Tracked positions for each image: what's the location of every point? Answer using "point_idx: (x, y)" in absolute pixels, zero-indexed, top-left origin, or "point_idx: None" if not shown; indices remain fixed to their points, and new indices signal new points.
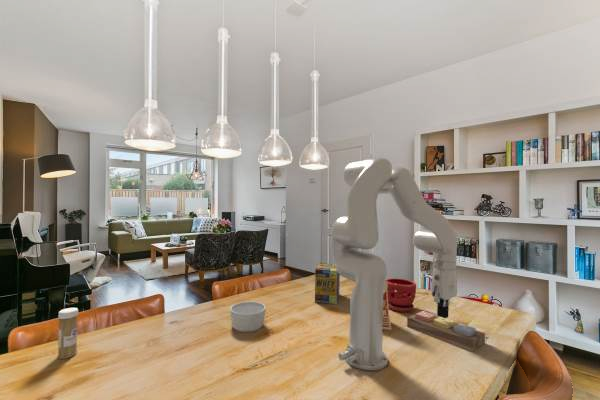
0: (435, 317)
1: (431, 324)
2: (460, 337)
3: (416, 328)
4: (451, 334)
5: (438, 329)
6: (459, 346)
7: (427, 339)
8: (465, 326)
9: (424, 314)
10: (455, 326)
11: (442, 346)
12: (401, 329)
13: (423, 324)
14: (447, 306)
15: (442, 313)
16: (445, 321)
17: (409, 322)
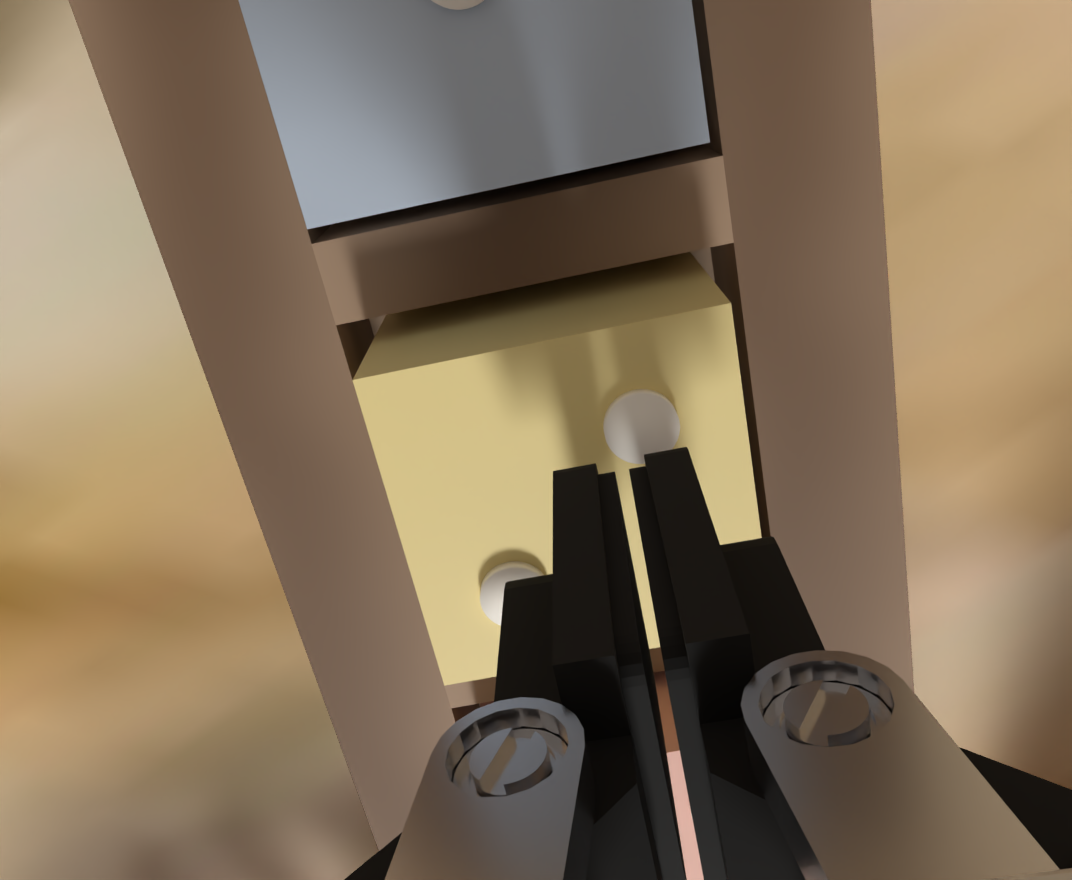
0: (402, 768)
1: (808, 574)
2: None
3: None
4: (870, 43)
5: (886, 360)
6: None
7: (1021, 367)
8: (356, 2)
9: (686, 873)
10: (634, 132)
11: (1055, 50)
12: (1044, 766)
13: (901, 652)
14: (612, 672)
15: (783, 566)
16: (625, 440)
17: None
